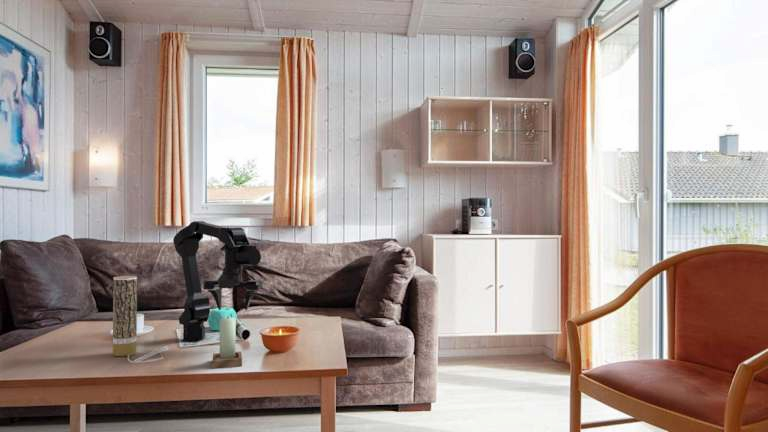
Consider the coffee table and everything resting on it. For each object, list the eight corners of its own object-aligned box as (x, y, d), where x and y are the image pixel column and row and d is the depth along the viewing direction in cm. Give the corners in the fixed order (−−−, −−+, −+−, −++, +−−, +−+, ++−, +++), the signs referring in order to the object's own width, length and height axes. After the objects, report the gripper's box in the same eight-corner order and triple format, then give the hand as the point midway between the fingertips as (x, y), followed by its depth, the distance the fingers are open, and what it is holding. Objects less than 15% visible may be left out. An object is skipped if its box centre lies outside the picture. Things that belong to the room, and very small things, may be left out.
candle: (218, 362, 149) (219, 318, 149) (220, 358, 154) (220, 315, 154) (234, 361, 150) (235, 317, 150) (235, 357, 155) (236, 314, 155)
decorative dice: (223, 332, 193) (223, 311, 193) (207, 330, 196) (207, 309, 196) (237, 328, 200) (237, 308, 200) (222, 326, 203) (222, 306, 203)
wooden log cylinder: (141, 352, 163) (141, 276, 163) (124, 358, 157) (124, 278, 157) (125, 350, 165) (125, 275, 165) (107, 356, 159) (108, 277, 159)
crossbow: (151, 368, 150) (151, 361, 150) (115, 365, 153) (115, 358, 153) (183, 351, 166) (183, 345, 166) (150, 348, 168) (150, 342, 168)
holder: (212, 368, 146) (212, 360, 146) (213, 360, 154) (213, 353, 155) (241, 366, 149) (242, 358, 149) (241, 358, 157) (241, 351, 157)
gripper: (196, 266, 162) (196, 314, 162) (253, 266, 161) (252, 314, 161) (210, 263, 173) (209, 307, 173) (262, 263, 172) (262, 308, 172)
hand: (233, 309), depth 169 cm, fingers open, 9 cm apart
